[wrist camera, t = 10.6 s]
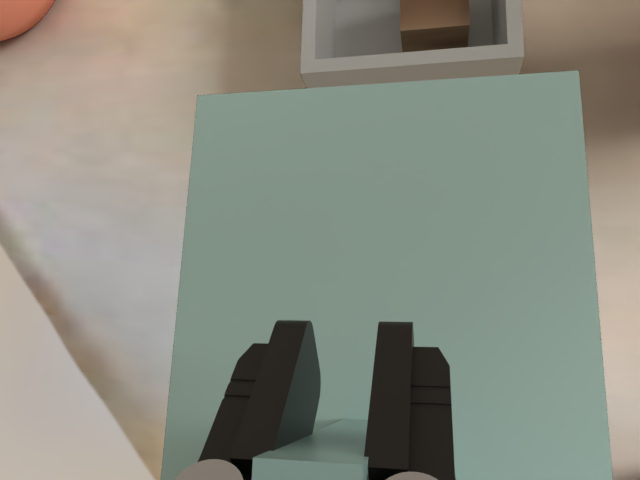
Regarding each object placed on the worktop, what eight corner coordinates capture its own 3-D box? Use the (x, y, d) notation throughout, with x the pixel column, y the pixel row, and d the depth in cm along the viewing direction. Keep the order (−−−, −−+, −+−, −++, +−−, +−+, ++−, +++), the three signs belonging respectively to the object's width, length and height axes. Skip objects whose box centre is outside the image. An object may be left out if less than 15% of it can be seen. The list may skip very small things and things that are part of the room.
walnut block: (403, 12, 38) (400, -28, 34) (464, 6, 37) (467, -36, 33) (403, 65, 37) (400, 30, 33) (465, 60, 36) (469, 24, 33)
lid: (215, 117, 22) (28, -111, 12) (566, 97, 20) (712, -214, 9) (173, 600, 18) (-165, 887, 8) (608, 653, 16) (946, 1175, 5)
